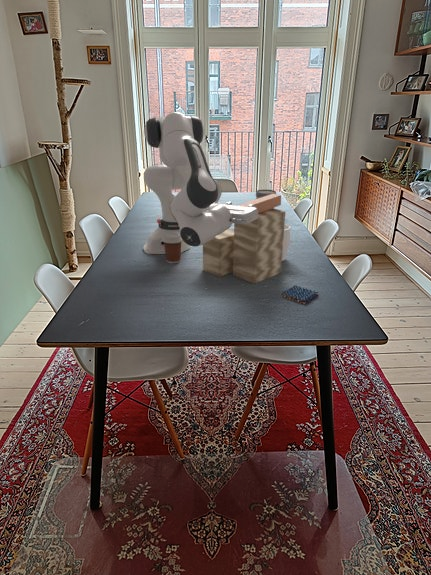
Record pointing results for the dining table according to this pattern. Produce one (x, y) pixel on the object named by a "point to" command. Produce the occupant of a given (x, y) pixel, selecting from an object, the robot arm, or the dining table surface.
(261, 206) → the rod
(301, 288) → the woven mat
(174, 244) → the coffee cup
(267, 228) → the stand
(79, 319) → the dining table surface
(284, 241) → the jar
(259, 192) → the reusable coffee cup
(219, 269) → the base block
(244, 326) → the dining table surface
